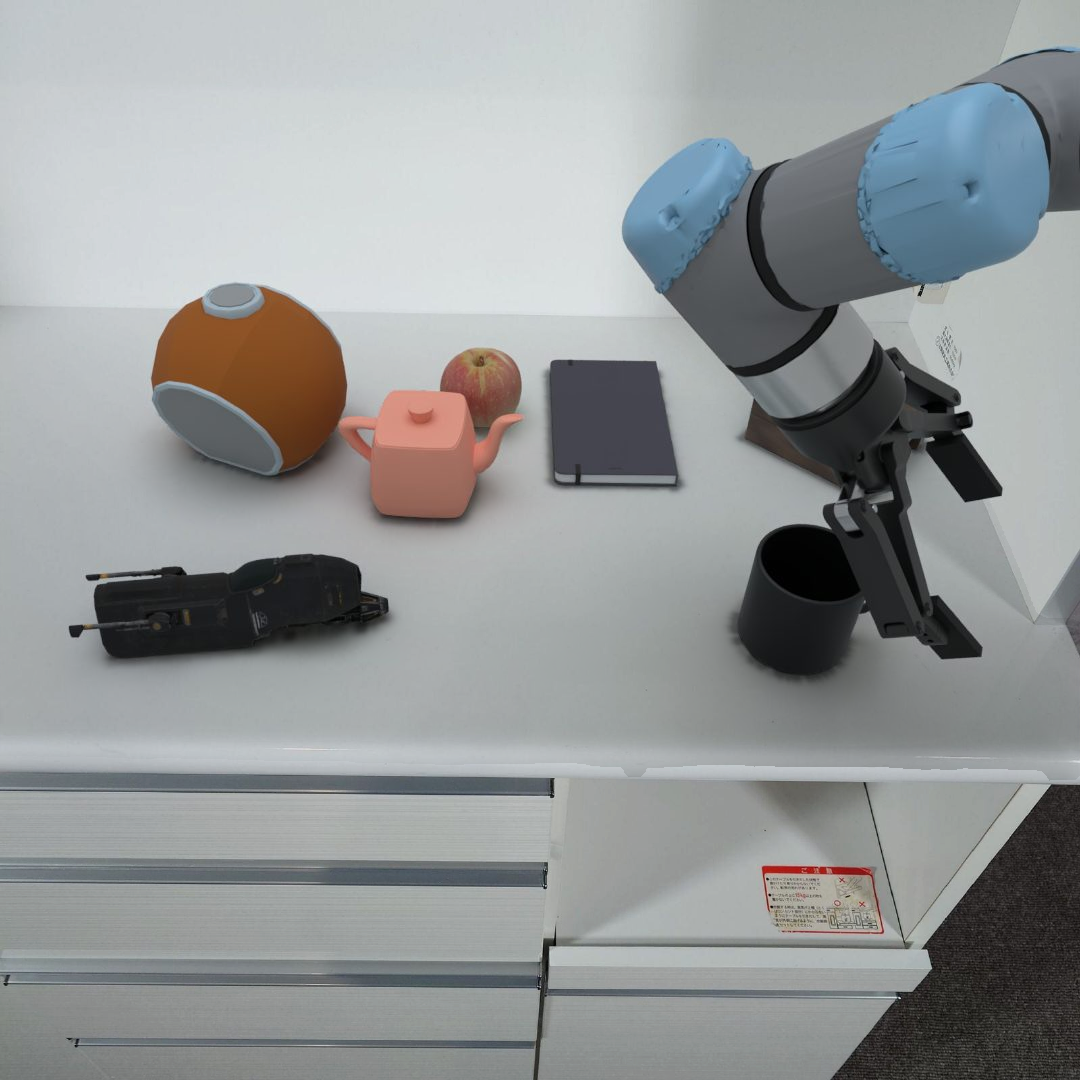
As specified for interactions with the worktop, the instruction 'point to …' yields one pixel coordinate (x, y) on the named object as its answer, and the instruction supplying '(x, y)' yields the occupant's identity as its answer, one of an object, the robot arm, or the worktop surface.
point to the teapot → (424, 452)
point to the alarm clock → (250, 378)
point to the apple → (484, 383)
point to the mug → (800, 600)
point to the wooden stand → (775, 441)
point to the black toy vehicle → (227, 604)
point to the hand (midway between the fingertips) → (973, 570)
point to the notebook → (610, 424)
